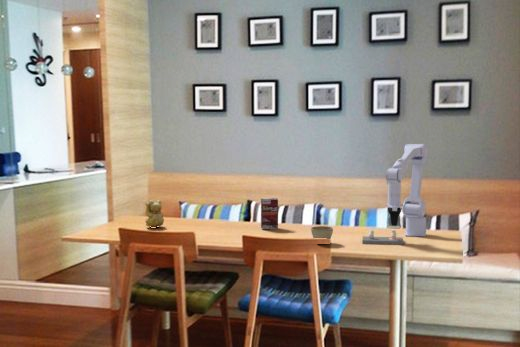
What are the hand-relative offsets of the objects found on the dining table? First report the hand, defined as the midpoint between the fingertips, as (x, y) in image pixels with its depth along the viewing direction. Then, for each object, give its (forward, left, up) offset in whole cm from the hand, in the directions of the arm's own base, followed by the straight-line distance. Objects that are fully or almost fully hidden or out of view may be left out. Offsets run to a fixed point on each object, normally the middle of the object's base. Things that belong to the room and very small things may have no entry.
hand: (393, 224), depth 253 cm
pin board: (+5, 0, -8) cm, 10 cm away
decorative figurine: (+123, -20, -8) cm, 125 cm away
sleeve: (0, 0, -1) cm, 1 cm away
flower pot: (+32, +7, -8) cm, 34 cm away
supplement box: (+62, -25, -8) cm, 67 cm away
